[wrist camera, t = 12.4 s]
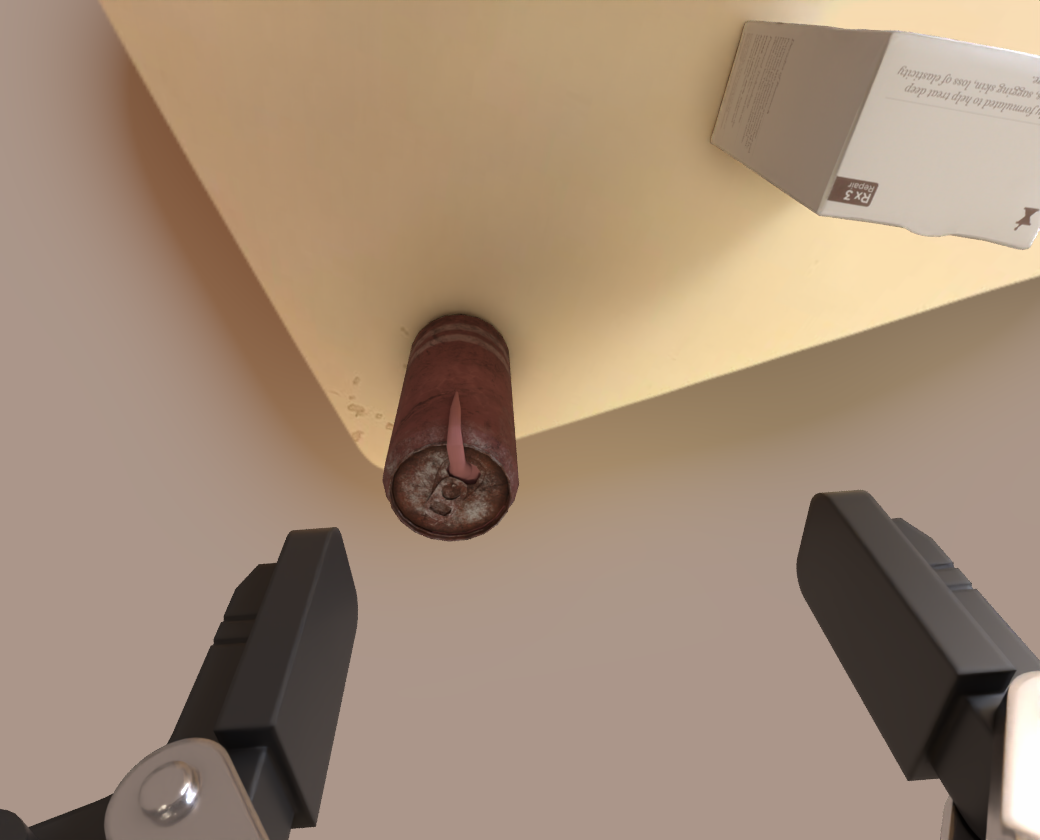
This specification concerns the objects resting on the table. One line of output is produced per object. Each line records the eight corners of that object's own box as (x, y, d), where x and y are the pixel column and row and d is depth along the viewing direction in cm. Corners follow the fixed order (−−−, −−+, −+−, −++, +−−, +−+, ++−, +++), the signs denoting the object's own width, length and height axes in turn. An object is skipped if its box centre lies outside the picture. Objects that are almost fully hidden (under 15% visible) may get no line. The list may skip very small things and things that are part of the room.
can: (505, 302, 38) (514, 427, 26) (512, 395, 42) (523, 543, 30) (403, 310, 38) (366, 438, 26) (418, 402, 42) (392, 553, 30)
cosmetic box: (892, 48, 32) (1155, 64, 20) (843, 173, 35) (1043, 256, 23) (734, 18, 31) (903, 14, 19) (698, 149, 34) (821, 223, 22)
